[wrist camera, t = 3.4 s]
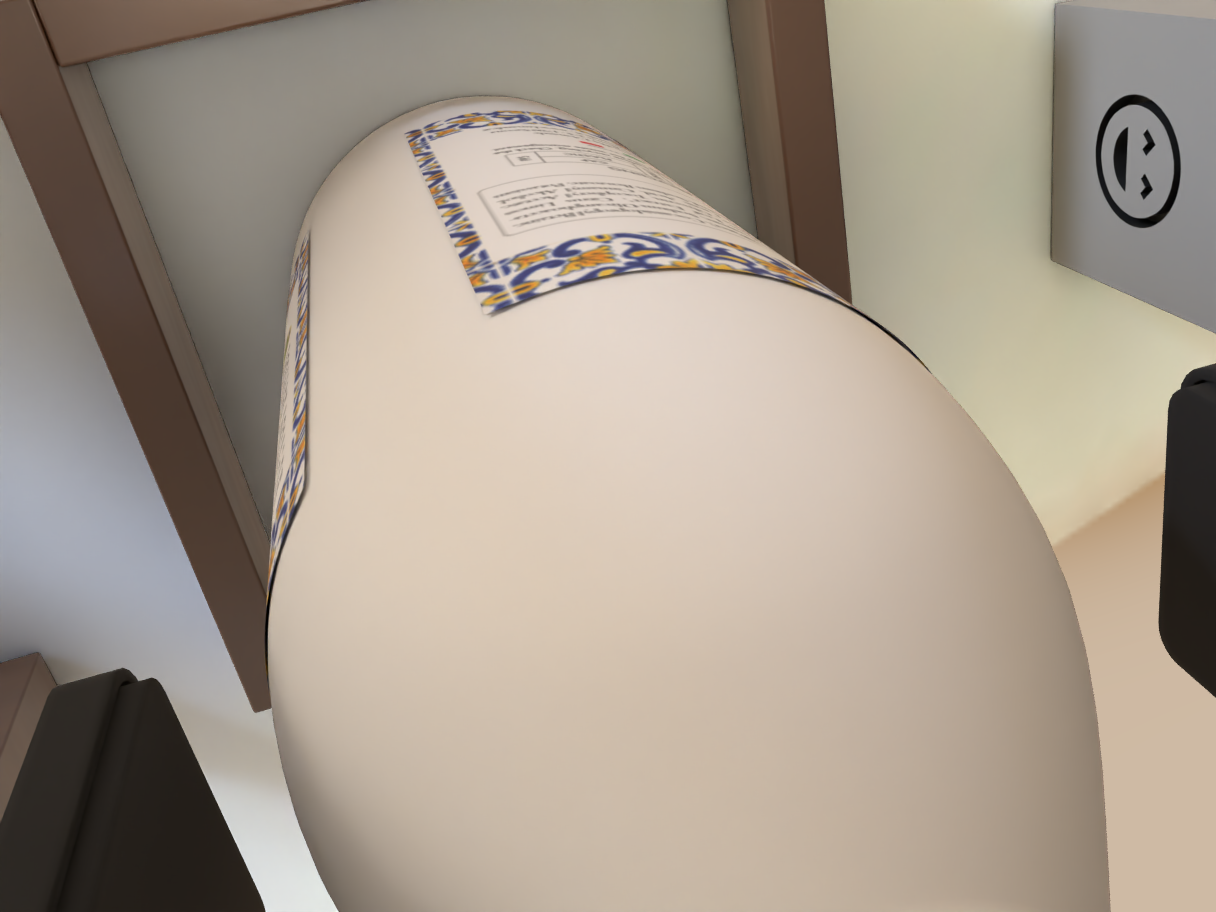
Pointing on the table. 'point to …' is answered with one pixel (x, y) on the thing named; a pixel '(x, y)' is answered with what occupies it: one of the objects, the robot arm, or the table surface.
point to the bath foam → (645, 564)
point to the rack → (153, 322)
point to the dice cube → (1138, 150)
